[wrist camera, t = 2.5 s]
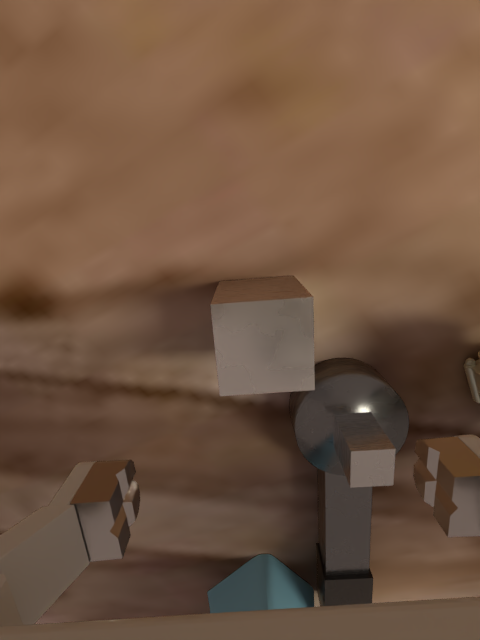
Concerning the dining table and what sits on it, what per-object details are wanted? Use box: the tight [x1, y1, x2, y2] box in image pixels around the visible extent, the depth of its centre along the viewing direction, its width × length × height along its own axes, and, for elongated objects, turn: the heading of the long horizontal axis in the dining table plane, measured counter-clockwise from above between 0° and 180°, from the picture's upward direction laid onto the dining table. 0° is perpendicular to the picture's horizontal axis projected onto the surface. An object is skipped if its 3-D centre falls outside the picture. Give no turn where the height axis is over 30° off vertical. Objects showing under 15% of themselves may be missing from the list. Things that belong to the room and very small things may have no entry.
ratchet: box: [289, 358, 409, 606], centre depth 26 cm, size 8×24×8 cm, turn 4°
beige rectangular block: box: [210, 276, 315, 396], centre depth 22 cm, size 5×5×7 cm
